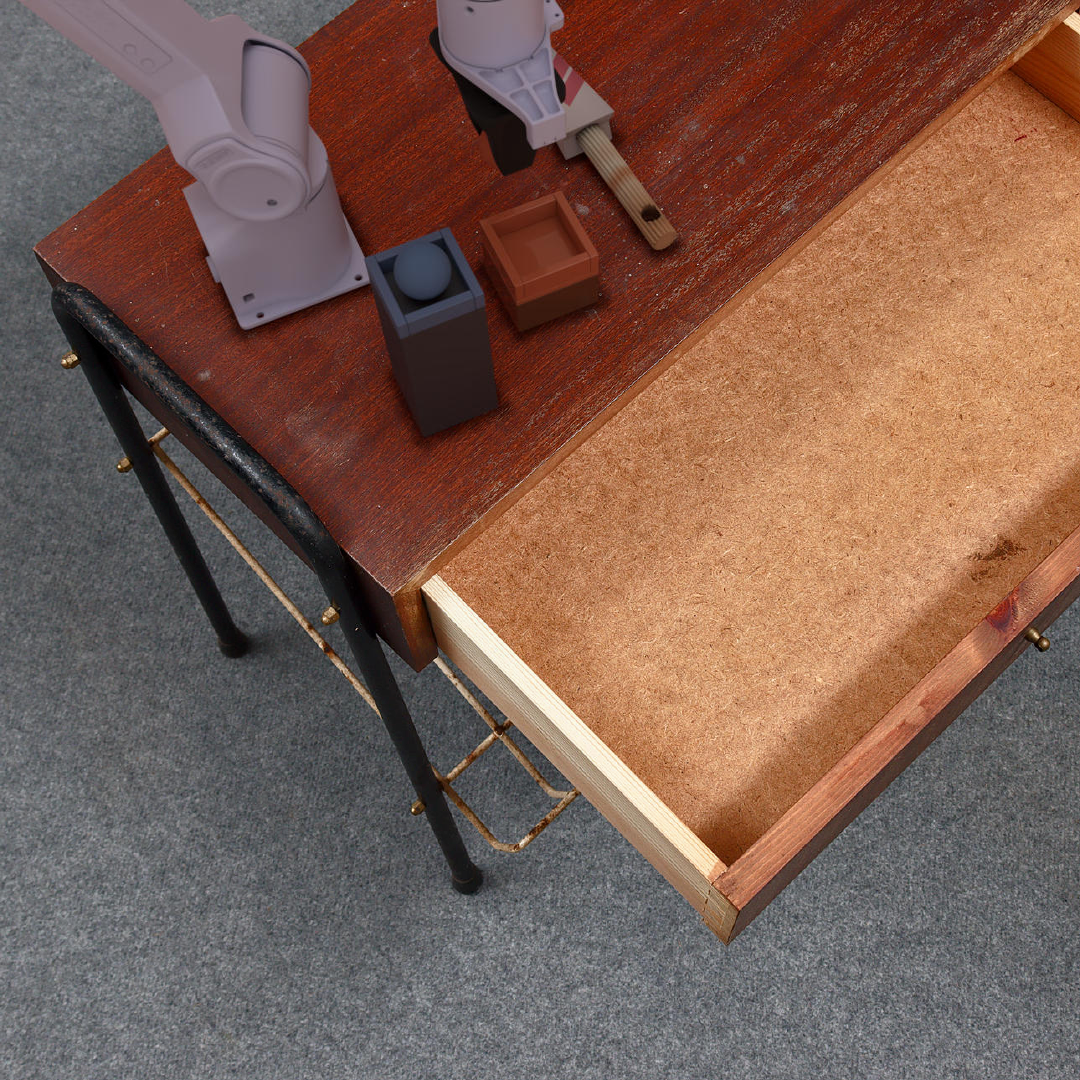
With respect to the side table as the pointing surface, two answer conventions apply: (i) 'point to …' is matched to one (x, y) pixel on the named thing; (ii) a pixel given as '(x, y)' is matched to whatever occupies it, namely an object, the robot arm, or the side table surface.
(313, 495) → the side table surface
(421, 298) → the slate ball
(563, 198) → the terracotta cup
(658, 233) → the paintbrush
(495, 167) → the terracotta ball
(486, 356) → the slate stand
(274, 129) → the robot arm
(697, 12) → the side table surface
